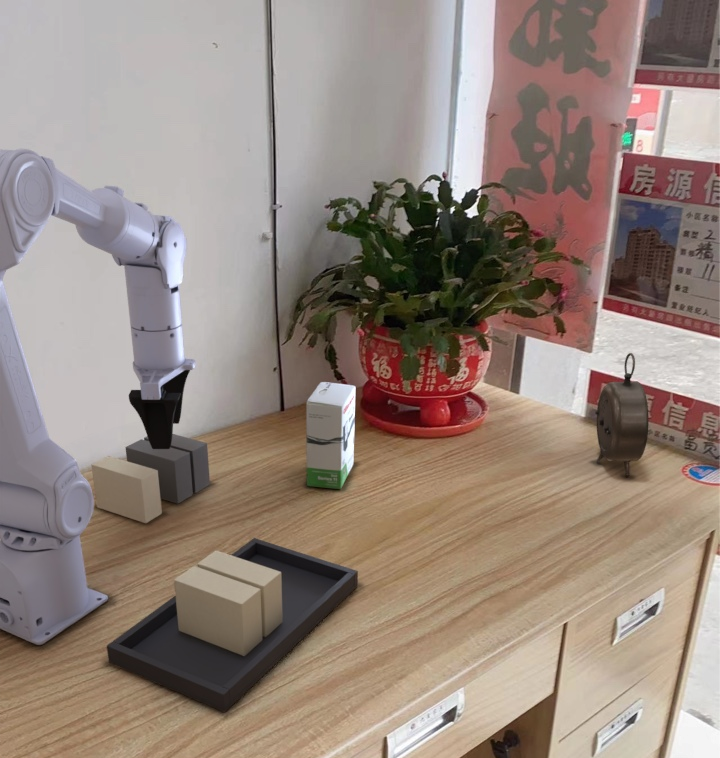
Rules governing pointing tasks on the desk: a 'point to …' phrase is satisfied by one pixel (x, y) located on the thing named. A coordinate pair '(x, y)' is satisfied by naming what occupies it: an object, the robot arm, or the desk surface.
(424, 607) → the desk surface
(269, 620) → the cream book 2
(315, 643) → the desk surface
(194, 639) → the tray
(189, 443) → the gray rectangular block
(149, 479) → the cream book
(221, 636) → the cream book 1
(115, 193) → the robot arm
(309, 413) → the ink box
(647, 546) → the desk surface
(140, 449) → the gray rectangular block
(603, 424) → the alarm clock
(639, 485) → the desk surface
